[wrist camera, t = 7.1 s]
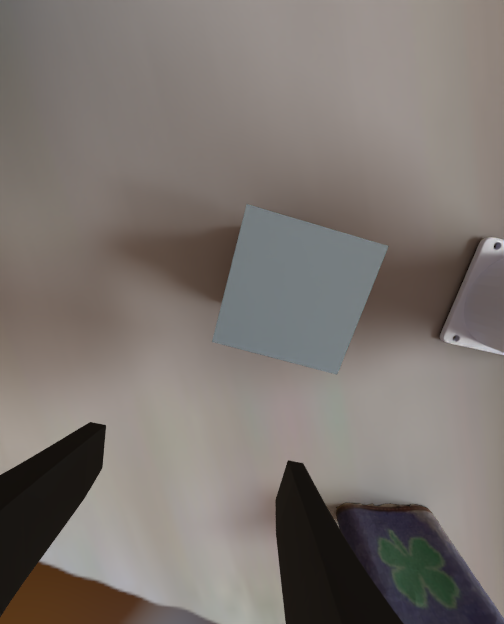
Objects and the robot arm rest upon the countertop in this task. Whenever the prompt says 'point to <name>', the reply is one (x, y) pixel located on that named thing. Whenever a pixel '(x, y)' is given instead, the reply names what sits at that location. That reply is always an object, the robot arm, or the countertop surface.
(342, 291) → the slate block
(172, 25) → the countertop surface
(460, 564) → the flask
